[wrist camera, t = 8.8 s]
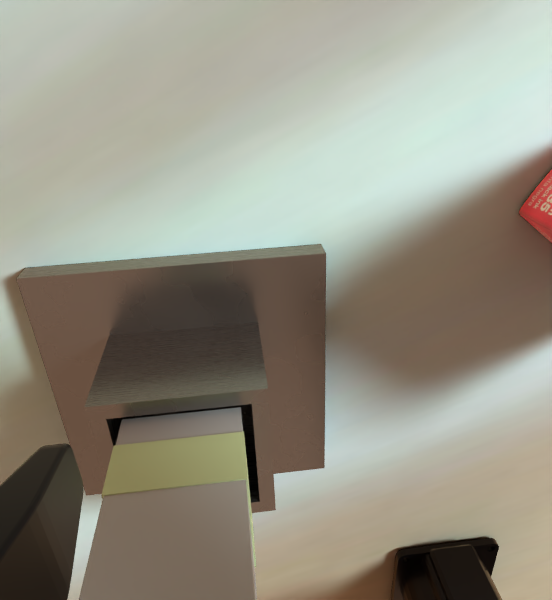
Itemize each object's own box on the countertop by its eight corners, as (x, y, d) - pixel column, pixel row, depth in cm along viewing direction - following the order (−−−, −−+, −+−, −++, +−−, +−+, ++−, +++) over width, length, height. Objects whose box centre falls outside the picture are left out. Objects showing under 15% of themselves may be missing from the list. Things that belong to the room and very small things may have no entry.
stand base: (320, 453, 27) (347, 559, 21) (90, 479, 26) (58, 597, 20) (321, 244, 21) (358, 317, 15) (25, 267, 20) (-45, 354, 15)
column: (250, 489, 20) (272, 778, 12) (140, 501, 20) (93, 807, 12) (241, 405, 18) (262, 690, 10) (120, 418, 18) (46, 722, 10)
